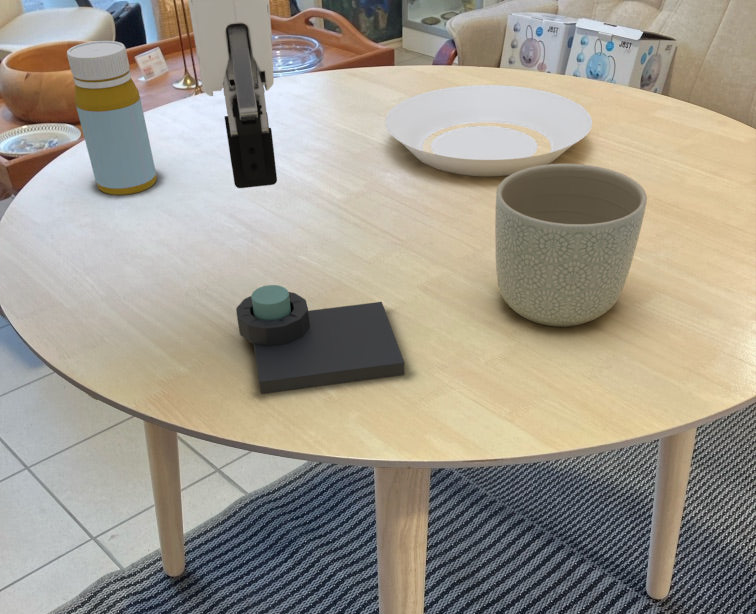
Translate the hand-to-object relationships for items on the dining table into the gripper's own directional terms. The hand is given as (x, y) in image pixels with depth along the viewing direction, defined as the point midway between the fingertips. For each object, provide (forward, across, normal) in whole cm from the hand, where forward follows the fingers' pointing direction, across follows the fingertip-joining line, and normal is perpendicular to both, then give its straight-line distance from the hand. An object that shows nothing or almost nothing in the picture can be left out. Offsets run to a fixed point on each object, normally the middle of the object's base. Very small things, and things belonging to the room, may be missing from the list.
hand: (254, 174), depth 66 cm
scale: (+15, +3, +4) cm, 16 cm away
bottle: (+15, -38, -14) cm, 43 cm away
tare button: (+12, 0, 0) cm, 12 cm away
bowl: (+15, -38, +30) cm, 51 cm away
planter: (+15, 0, +26) cm, 30 cm away
